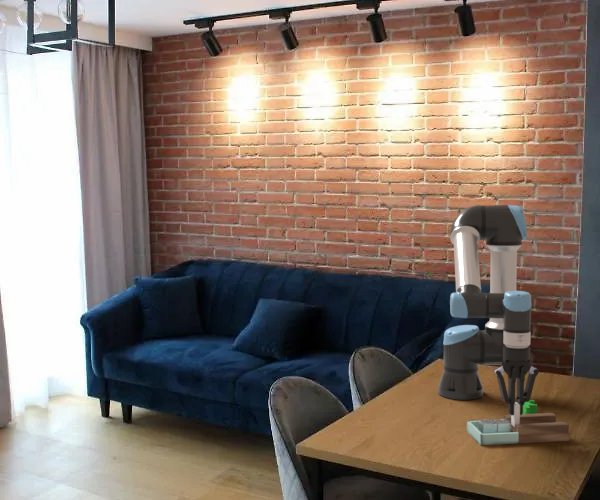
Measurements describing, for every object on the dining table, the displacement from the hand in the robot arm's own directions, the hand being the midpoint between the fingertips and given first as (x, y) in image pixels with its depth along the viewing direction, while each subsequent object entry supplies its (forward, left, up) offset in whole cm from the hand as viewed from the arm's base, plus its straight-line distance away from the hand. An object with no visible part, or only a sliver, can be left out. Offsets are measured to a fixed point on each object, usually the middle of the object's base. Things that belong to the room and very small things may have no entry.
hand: (515, 425), depth 225 cm
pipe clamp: (-17, +11, -4) cm, 20 cm away
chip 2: (0, -4, -3) cm, 5 cm away
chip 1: (0, -8, -3) cm, 8 cm away
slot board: (0, +6, -3) cm, 7 cm away
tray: (0, -7, -3) cm, 8 cm away
